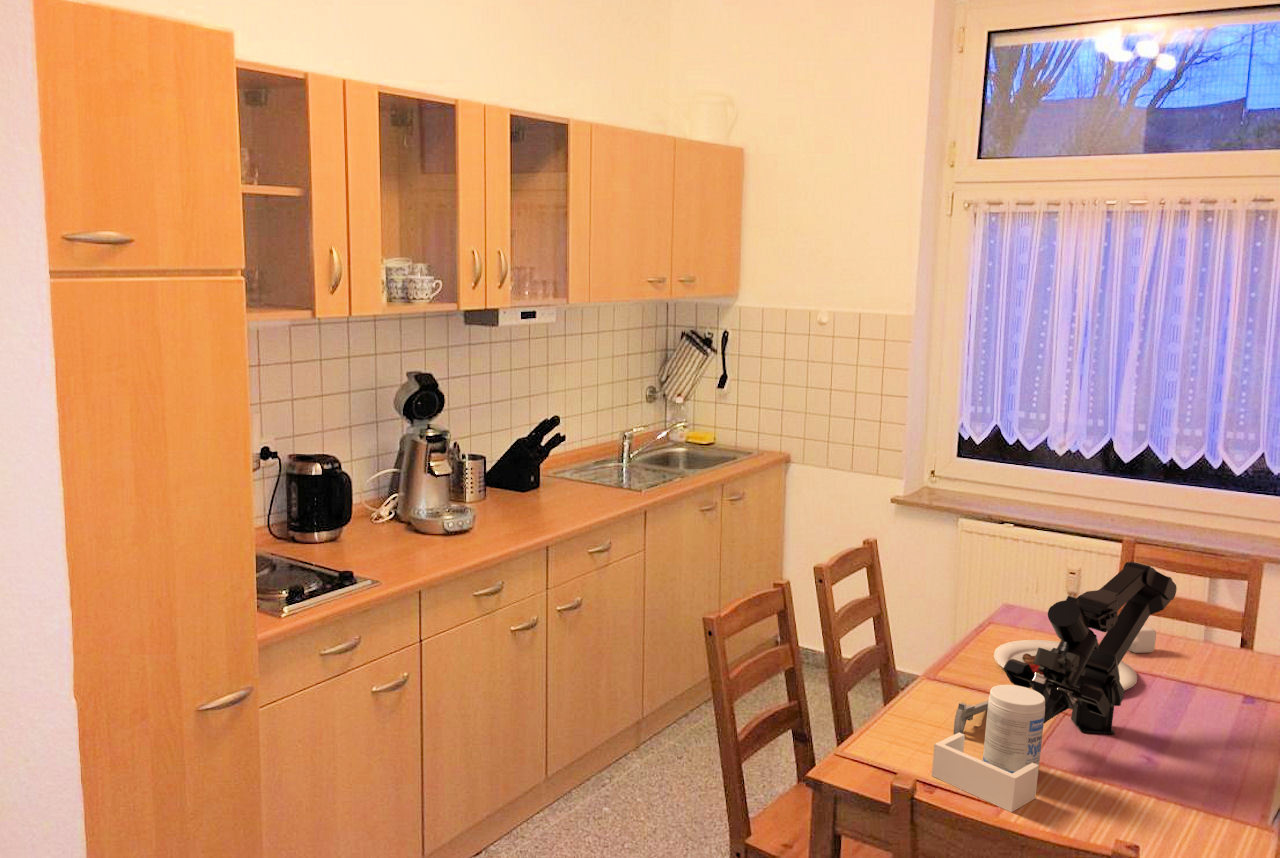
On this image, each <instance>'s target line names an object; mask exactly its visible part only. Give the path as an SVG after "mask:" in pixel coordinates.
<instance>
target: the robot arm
mask: <svg viewBox="0 0 1280 858" xmlns="http://www.w3.org/2000/svg"><path fill="white" fill-rule="evenodd" d="M1177 588H1178V587H1177V585H1176V583H1175V581H1173V579H1172V577H1170V576H1168V575H1166V574H1165V575H1164V574H1163V573H1161V572H1159V571H1157V570H1156V569H1155V568H1154V567H1152V566H1151V565H1148V564H1144V563H1140V562H1135V561H1126V562H1125V563H1124V565H1123V567H1122V569H1121V570H1120V571H1119V572H1118V573H1117V574H1116V575H1115V576H1114V577H1112V578H1111V579H1110V580H1109V581H1108V582H1107V583H1105V584H1104V585H1103V586H1102V587H1101V588H1100V589H1097V590H1089V591H1087V590H1086V591H1085V592H1084V593H1081V594H1080V595H1078V596H1077V597H1075V596H1071V595H1068V596H1067V597H1066V599H1065V600H1060V601H1057V602H1055V603H1054V604H1053V605H1051V606H1050V607H1049V608H1048V610H1047V611H1048V612H1047V618H1048V621H1049V622H1050V624H1051V626H1052V629H1053V630H1054V632H1055V634H1056V635H1057V637H1058V638H1059V639H1060V641H1059V642H1060V643H1059V645H1058V647H1057V649H1056V648H1053V649H1052V650H1051V651H1049V650H1046V649H1043V648H1038V651H1037V654H1036V657H1035V660H1034V664H1035V665H1036V664H1037V665H1040V667H1039V670H1040V672H1043V675H1041V674H1038V673H1033V671H1032V669H1031V667H1030V666H1029V664H1026V663H1023V662H1021V661H1018V660H1015V659H1011V660H1009V661H1007V662H1006V664H1005V666H1004V668H1002V670H1003V671H1004V673H1005V675H1006V676H1007V678H1008V680H1009V681H1010V683H1011V684H1012V685H1016V686H1022V687H1026V688H1029V689H1032V690H1035V691H1037V692H1039V693H1040V694H1041V695H1043V696H1044V698H1045V715H1044V724H1045V723H1046V724H1047V722H1048V721H1050V720H1052V718H1055V717H1056V716H1058V715H1060V714H1061V713H1063V712H1065V711H1067V710H1069V709H1070V710H1072V712H1071V716H1070V720H1071V721H1072V723H1073V724H1074V725H1075V726H1076V728H1077V729H1078V730H1079V731H1080V732H1081V733H1088V734H1090V733H1091V734H1102V735H1115V733H1116V732H1115V730H1114V728H1112V727H1113V719H1114V718H1113V717H1114V709H1115V707H1121V705H1122V702H1123V699H1124V697H1125V696H1124V695H1125V690H1124V689H1123V687H1122V685H1121V683H1120V675H1119V668H1118V665H1119V663H1120V662H1121V661H1123V659H1124V657H1125V655H1126V654H1127V653H1128V651H1129V650H1128V649H1129V647H1130V646H1131V644H1132V643H1133V641H1134V639H1135V638H1136V636H1137V635H1138V633H1139V632H1140V630H1141V628H1142V627H1143V625H1146V624H1145V623H1147V620H1148V619H1149V617H1150V616H1151V615H1154V614H1156V613H1158V612H1161V611H1163V610H1165V609H1166V607H1167V606H1168V605H1169V603H1170V602H1171V601H1173V600H1174V598H1175V597H1176V593H1177ZM1120 609H1121V610H1120ZM1119 610H1120V612H1119V613H1118V611H1119ZM1093 630H1095V631H1098V632H1102V633H1106V634H1105V635H1104V636H1103V638H1102V640H1101V641H1100V642H1098V641H1099V640H1098V638H1097V634H1095V632H1094V631H1093Z"/></svg>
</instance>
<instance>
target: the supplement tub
mask: <svg viewBox="0 0 1280 858" xmlns="http://www.w3.org/2000/svg"><path fill="white" fill-rule="evenodd" d="M987 700H988V710H987V711H986V712H987V713H986V720H985V721H986V723H985V733H984V734H985V735H984V743H983V744H984V745H983V755H982V761H984V762H986V763H989V764H991V765H993V766H996V767H998V768H1000V769H1003V770H1005V771H1007V772H1010V773H1014V772H1016V771H1018V770H1020V769H1022V768H1023V767H1025V766H1027V765H1029V764H1031V763H1035V764H1037V765H1039V766H1040V762H1041V761H1040V759H1041V753H1042V752H1041V751H1042V750H1041V749H1042V742H1043V731H1044V724H1045V723H1044V715H1045V698H1044V696H1043V695H1041V694H1040V693H1039V692H1037V691H1035V690H1033V689H1032V688H1026V687H1022V686H1017V685H1014V684H999V685H995V686H992V687H991V689H990V691H989V696H988V699H987ZM1039 769H1040V768H1039ZM1039 769H1038V772H1039V771H1040V770H1039Z"/></svg>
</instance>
